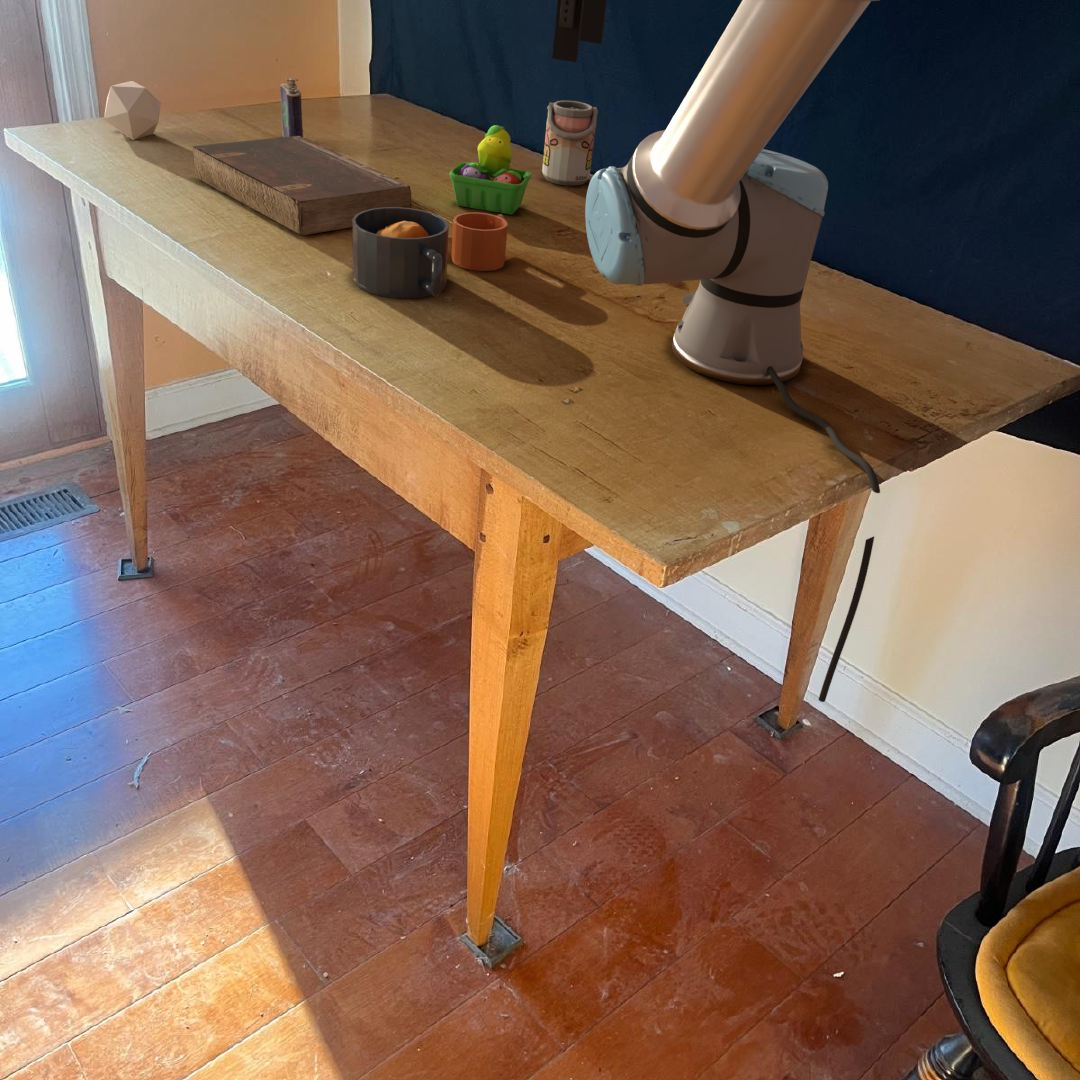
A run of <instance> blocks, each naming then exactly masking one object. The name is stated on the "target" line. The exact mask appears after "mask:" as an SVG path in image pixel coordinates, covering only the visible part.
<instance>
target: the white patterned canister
mask: <svg viewBox="0 0 1080 1080" xmlns="http://www.w3.org/2000/svg"><path fill="white" fill-rule="evenodd" d="M546 109H547V119H546V126H545V127H546V128H545V137H544V138H545V139H544V146H543V147H544V149H543V157H542V158H543V159H542V168H541V172H542V175H543V177H544V178H545V180H546V181H548V182H549V183H552V184H556V185H561V186H568V187H569V186H571V187H573V186H575V187H576V186H581V185H584V184H586V183H587V182H588V181H589V179H590V176H591V169H592V159H593V151H594V143H595V136H596V135H595V134H596V128H597V118H598V115H599V110H598V108H597V107H596V106H592V105H590V104H588V103H585V102H581V101H576V100H557V101H555V102H549V104H548V105H547V108H546Z"/></svg>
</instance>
